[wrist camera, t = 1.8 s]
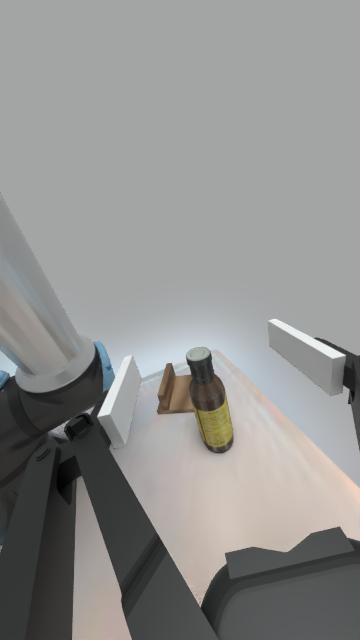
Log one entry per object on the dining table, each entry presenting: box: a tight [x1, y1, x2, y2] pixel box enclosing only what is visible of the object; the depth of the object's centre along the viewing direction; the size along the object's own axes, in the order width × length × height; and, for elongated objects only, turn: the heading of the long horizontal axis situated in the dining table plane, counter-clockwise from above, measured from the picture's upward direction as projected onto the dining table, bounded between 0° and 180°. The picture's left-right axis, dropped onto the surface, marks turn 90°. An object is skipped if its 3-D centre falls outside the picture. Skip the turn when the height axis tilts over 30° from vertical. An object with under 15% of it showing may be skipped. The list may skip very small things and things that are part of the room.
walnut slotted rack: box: [157, 363, 194, 414], centre depth 45 cm, size 14×12×6 cm
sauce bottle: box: [186, 347, 233, 452], centre depth 30 cm, size 6×6×20 cm
